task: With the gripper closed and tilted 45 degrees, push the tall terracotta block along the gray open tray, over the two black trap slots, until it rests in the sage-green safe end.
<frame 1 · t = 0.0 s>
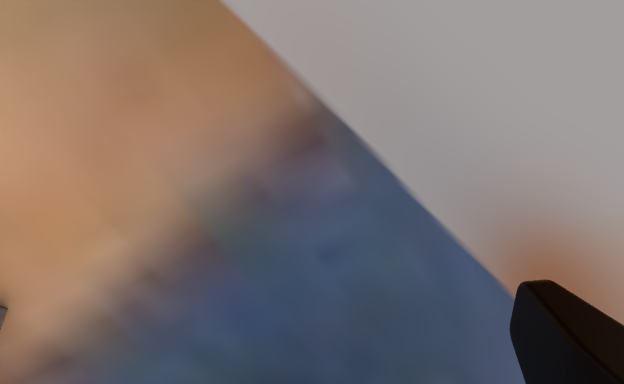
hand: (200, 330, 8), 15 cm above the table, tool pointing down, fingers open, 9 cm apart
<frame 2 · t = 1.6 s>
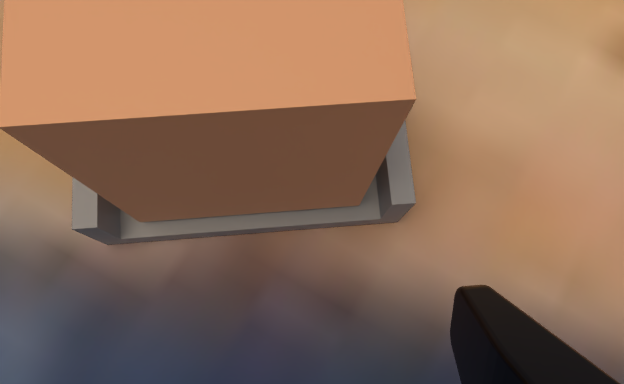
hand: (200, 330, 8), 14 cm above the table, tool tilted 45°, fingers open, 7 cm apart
terracotta block: (233, 111, 16), point 6 cm above the table, slide at 0.0 cm
gray open tray: (242, 39, 24), on the table
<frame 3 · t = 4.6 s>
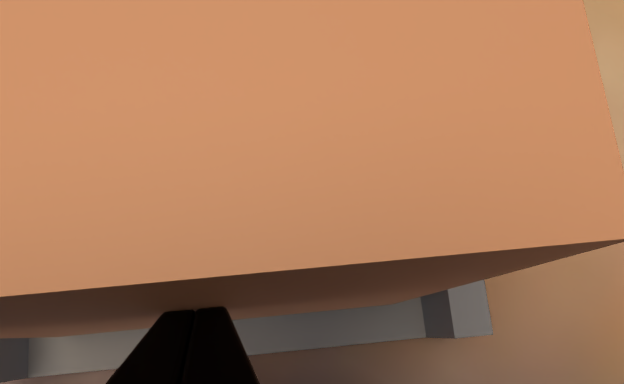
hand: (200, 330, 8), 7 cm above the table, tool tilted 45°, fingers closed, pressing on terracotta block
terracotta block: (186, 188, 9), point 6 cm above the table, slide at 0.4 cm, touching gripper
gray open tray: (217, 64, 17), on the table
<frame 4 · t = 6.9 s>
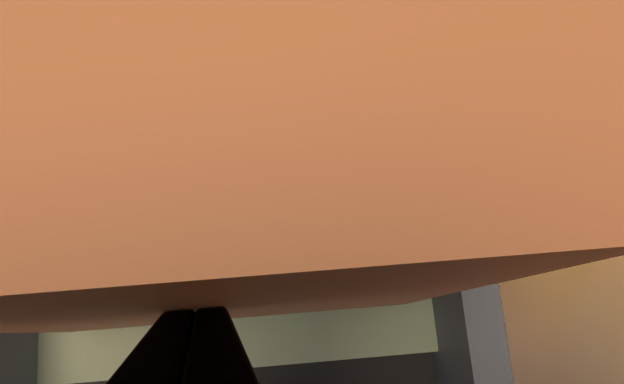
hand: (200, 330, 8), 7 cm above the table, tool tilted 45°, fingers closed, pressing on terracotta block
terracotta block: (202, 184, 9), point 6 cm above the table, slide at 9.7 cm, touching gripper
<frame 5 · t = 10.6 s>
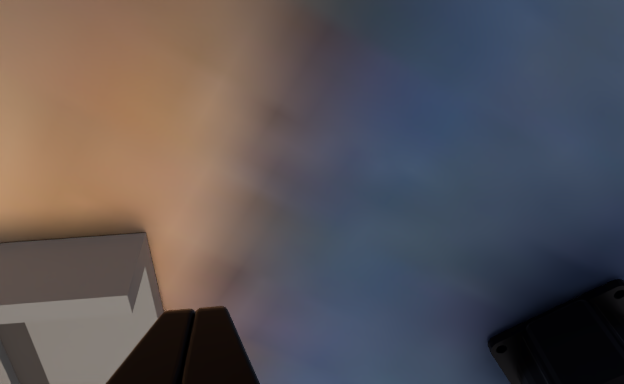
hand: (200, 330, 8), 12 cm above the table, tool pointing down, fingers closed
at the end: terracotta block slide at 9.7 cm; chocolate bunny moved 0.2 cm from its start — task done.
